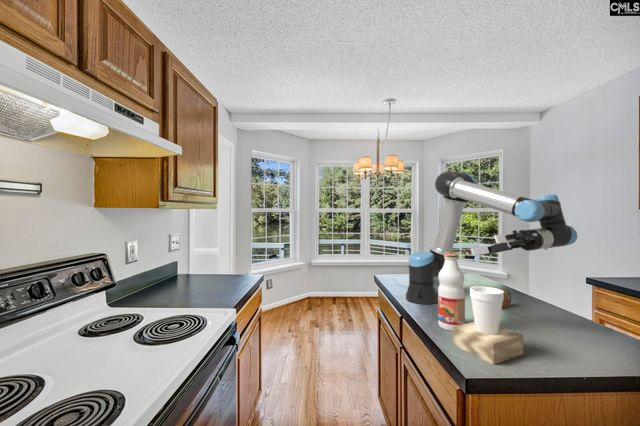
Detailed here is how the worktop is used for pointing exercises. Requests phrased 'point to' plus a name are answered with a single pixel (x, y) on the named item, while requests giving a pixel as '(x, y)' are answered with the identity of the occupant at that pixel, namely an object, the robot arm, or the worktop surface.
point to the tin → (506, 298)
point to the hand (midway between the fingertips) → (483, 246)
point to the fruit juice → (451, 294)
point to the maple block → (488, 343)
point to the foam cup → (486, 308)
